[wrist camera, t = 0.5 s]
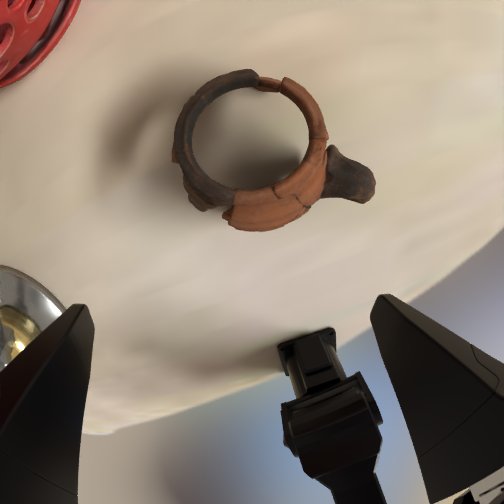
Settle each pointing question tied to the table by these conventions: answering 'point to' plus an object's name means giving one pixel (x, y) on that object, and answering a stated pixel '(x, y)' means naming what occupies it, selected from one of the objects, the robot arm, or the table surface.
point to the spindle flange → (28, 299)
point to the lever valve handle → (14, 333)
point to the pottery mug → (286, 191)
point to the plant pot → (30, 33)
